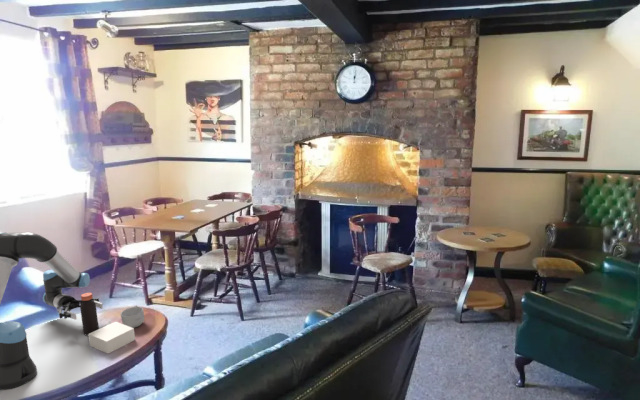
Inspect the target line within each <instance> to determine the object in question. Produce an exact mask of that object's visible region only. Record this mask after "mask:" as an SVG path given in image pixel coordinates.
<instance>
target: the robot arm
mask: <svg viewBox="0 0 640 400" xmlns="http://www.w3.org/2000/svg"><path fill="white" fill-rule="evenodd" d="M20 259H34V260H36V261H37V262H39V263H44V264H45V266H47V267H48V268H49V269H48V270H46V271H45V270H44V272H43V273H42V277H43V280H42V281H43V285H44V291H45V292H44V293H43V295H42V302H44V304H46V305H48V306H50V307H53V308H56V311H57V313H58V315H59V316H58V317H59V319H65V320H66V319H72V320H74V321H75V320H77V319H78V317H77V314H76V313H75V312H72V310H74V309H78V308H80V305H81V303H82V300H81V299H76V298H75V297H73V296H72V295H71V296H70V295H68V294H65V293H63V289H69V288H70V289H73V288H74V289H75V288H77V289H78V288H79V289H81V288H86V287H88V286H89V285H90V281H91V277H90V274H89V273H87V272H80V271H79V270H78V269H77V268H76V267H75V266H73V264H71V262H69V260H67V259H66V258H65V257H64V256H63V255H62V253H60V252H59V251H58V247H57V246H56V244H55V243H53V242H52V241H50V240H49V239H47V238H46V237H44V236H42V235H40V234H37V233H34V232H30V231H26V232H0V304H1V303H2V300H3V297H4V294H5V292H6V291H5V290H6V289H7V288H6V287H7V285H8V281H9V279H10V276H11V272H12V269H13V268H14V267H16V266H18V264H19V260H20ZM92 300H93V301H94V302H95V303H96V308H98V309H104V305H103V302H100V298H98V297H96V298H95V297H93V299H92ZM37 368H38V367H37V366H36V364H35V362H34V361H33V359H32V358H31V356H30V350H29V345H28V338H27V332H26V329H25V326H24V324H23V323H22V322H19V321H13V320H9V321H8V320H7V321H4V322H0V390H8V389H9V390H10V389H13V388H17V387H20V386H22V385H24V384H27V383H28V382H30V381H31V380H33V379H34V378H36V376H37V374H38V369H37Z"/></svg>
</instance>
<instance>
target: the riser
mask: <svg viewBox="0 0 640 400" xmlns="http://www.w3.org/2000/svg"><path fill="white" fill-rule="evenodd" d="M87 336H88V343H89V347H92V348H94V349H96V350H99V351H101V352H103V353H105V354H110V353H112V352H114V351H116V350H118V349H120V348H123V347H124V346H127V345H128V344H130V343H132V342H133V341H136V336H135V328H132V327H129V326H126V325H124V324H123V323H121V322H118V321H114V322H112V323H109V324H107V325H104V326H103V327H99V329H98V330H96V331H94V332H92V333H89V334H88V335H87Z"/></svg>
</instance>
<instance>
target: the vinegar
mask: <svg viewBox="0 0 640 400" xmlns="http://www.w3.org/2000/svg"><path fill="white" fill-rule="evenodd" d="M80 298H81V299H80V300H82V303H81V305H79V306H80V307H79V308H80V316H81V323H82V331H83V335H85V336H89V335H88V334H89V333H92V332H94V331H96V330H98V329H100V327H99V319H98V311H97V307H96V303H95V302H94V301H93V300H92V299H93V298H94V296H93V293H92V292H85V293H82V294H81V295H80Z"/></svg>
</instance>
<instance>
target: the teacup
mask: <svg viewBox="0 0 640 400" xmlns="http://www.w3.org/2000/svg"><path fill="white" fill-rule="evenodd" d="M120 318H121V321H122V323H121V324H124V325H126V326H129V327H132V328H134V329H135V328H138V327H140V326H141V325H142V324H143V323H144V321H145V311H144V308H143V307H142V306H138V305H134V306H132V307H128V308H126V309H124V310H122V311H121V312H120Z"/></svg>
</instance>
